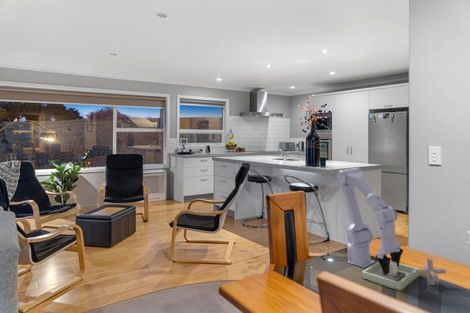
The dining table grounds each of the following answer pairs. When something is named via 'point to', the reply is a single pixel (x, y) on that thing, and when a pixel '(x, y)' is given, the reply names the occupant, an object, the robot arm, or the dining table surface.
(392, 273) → the pvc coupling
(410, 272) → the walled box
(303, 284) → the dining table surface
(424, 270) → the grey toy jack
